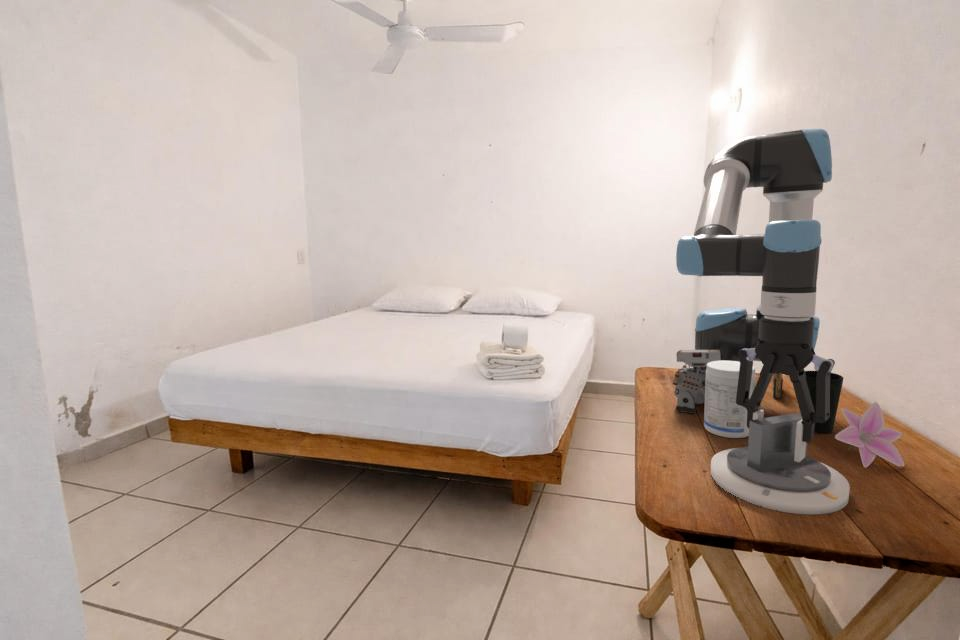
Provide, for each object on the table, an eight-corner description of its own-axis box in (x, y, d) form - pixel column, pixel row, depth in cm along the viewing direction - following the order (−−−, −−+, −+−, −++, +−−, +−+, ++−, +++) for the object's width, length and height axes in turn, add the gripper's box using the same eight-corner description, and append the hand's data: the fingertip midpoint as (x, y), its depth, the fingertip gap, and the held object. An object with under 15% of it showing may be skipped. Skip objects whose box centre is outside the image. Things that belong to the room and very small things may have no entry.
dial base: (726, 448, 97) (726, 438, 97) (851, 476, 85) (853, 464, 84) (696, 488, 82) (696, 476, 82) (844, 529, 70) (845, 515, 69)
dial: (707, 458, 88) (709, 410, 87) (772, 446, 92) (775, 400, 91) (780, 499, 74) (784, 442, 72) (853, 482, 78) (858, 428, 77)
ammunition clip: (772, 387, 136) (775, 345, 134) (780, 388, 135) (783, 345, 133) (773, 398, 127) (776, 352, 125) (781, 399, 126) (784, 353, 124)
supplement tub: (721, 420, 113) (724, 357, 110) (762, 433, 104) (766, 366, 102) (693, 429, 108) (696, 364, 106) (734, 443, 100) (737, 373, 98)
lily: (819, 465, 92) (847, 431, 86) (815, 422, 100) (840, 389, 95) (892, 493, 88) (927, 460, 82) (881, 446, 97) (912, 414, 91)
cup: (797, 432, 104) (801, 377, 103) (794, 420, 111) (797, 369, 109) (841, 438, 101) (846, 381, 99) (835, 425, 108) (840, 372, 106)
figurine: (720, 419, 113) (723, 356, 111) (669, 410, 120) (671, 350, 118) (727, 408, 121) (731, 348, 118) (679, 400, 127) (681, 343, 125)
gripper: (716, 314, 84) (711, 443, 87) (851, 326, 70) (838, 479, 73) (735, 310, 89) (729, 432, 92) (864, 320, 74) (851, 463, 78)
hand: (777, 452), depth 83 cm, fingers open, 6 cm apart
